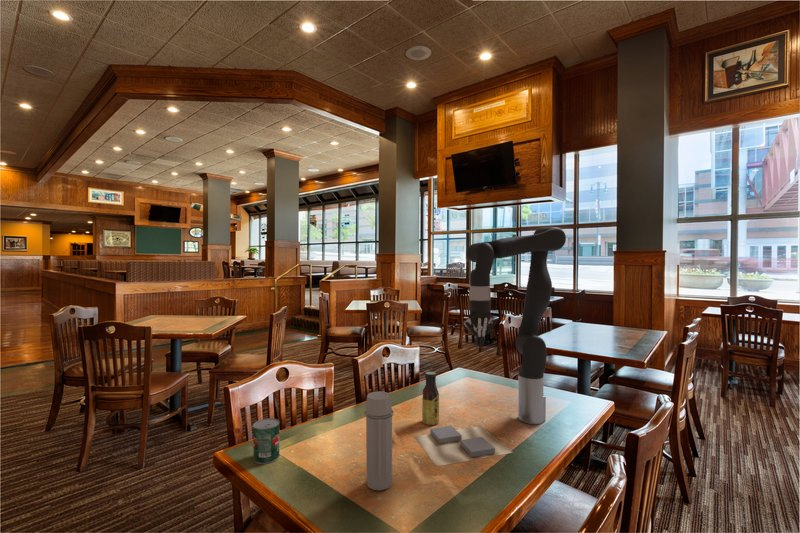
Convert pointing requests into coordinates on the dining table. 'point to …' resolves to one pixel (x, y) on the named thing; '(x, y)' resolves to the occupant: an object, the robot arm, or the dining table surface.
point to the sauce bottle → (430, 401)
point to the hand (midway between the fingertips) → (479, 346)
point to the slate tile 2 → (477, 446)
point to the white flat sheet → (458, 447)
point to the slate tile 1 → (445, 434)
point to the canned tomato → (266, 441)
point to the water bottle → (379, 440)
